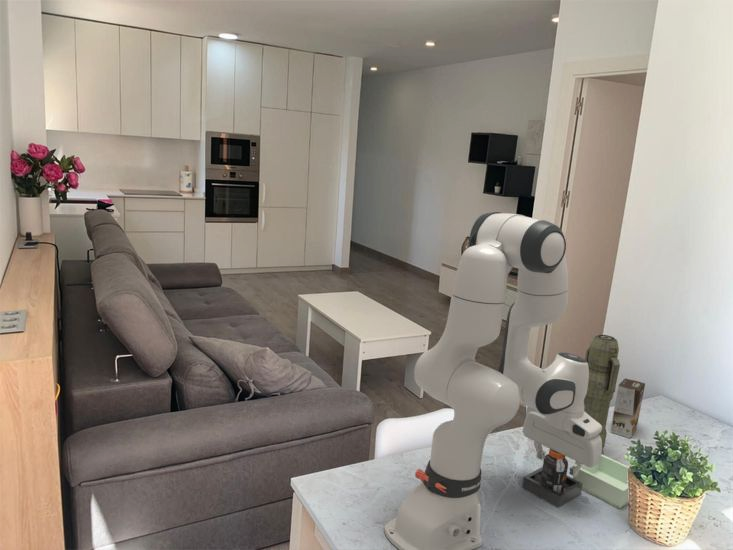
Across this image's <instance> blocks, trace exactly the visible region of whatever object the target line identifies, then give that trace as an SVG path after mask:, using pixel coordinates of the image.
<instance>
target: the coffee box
mask: <svg viewBox="0 0 733 550" xmlns="http://www.w3.org/2000/svg"><path fill="white" fill-rule="evenodd" d="M645 388H646V383H645V382H641V381H638V380H633V379H629V378H624V379H623V380H622V381H621V382H620V383H619V384H618V387H617V392H616V399H615V404H614V409H613V415H612V421H611V426H610V430H609V432H610V433H612V434H616V435H618V436H621V437H625V438H626V439H627V438H628V439H631V438H632V437H633V435H634V433H635V432H636V431H637V428H638V425H639V418H640V412H641V406H642V403H643V397H644V392H645Z"/></svg>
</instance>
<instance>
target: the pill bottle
mask: <svg viewBox="0 0 733 550" xmlns="http://www.w3.org/2000/svg"><path fill="white" fill-rule="evenodd" d="M548 449H549V450H548V453H547V454H545V457H544V459H543V463H542V467H543V468H542V474H541V480H540V481H539V483H541V484H543V485H544V486H546V487H548V488H550V489H552V490H554V491H555V492H557V493H560V492H562V491H564V490H565V488H564V487H565V481H566V475H567V474H568V468H569V462H568V459H567V458H566V457H567V456H565V455H562V454H560V453H558V452H556V451H554V450H552V449H550V448H548ZM567 476H568V475H567Z"/></svg>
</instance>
